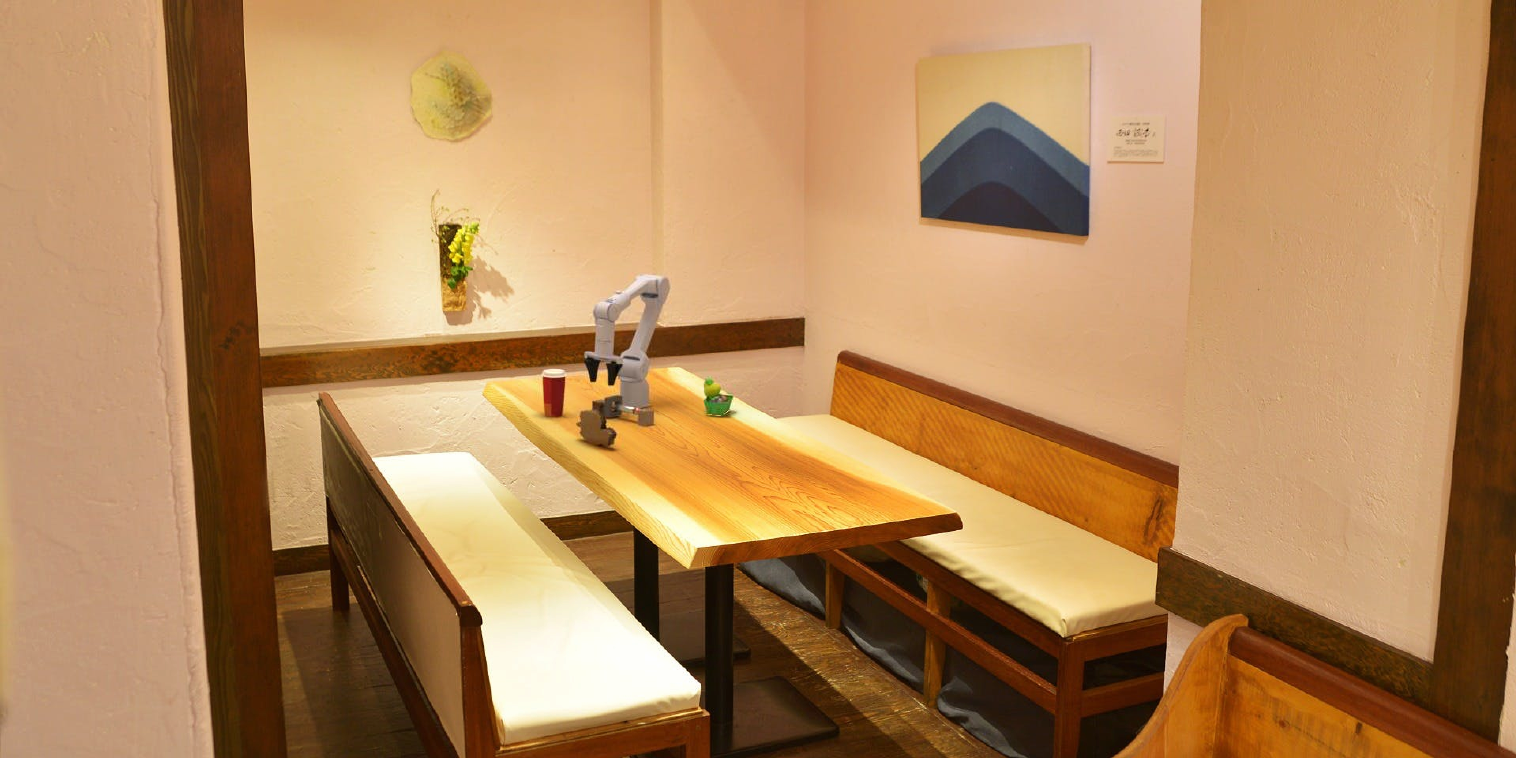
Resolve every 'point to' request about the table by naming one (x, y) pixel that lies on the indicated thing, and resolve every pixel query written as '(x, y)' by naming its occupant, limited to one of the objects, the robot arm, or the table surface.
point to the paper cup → (553, 392)
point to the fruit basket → (715, 399)
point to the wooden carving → (596, 428)
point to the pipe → (643, 415)
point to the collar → (608, 406)
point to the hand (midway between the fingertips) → (602, 383)
